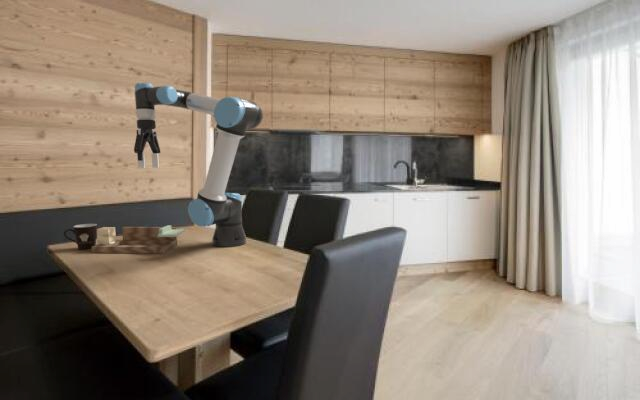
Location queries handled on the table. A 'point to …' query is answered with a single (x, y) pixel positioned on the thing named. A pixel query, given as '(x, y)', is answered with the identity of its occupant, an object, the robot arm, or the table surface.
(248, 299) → the table surface
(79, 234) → the coffee mug
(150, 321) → the table surface
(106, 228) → the maple block
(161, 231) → the lid
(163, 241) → the puzzle board
